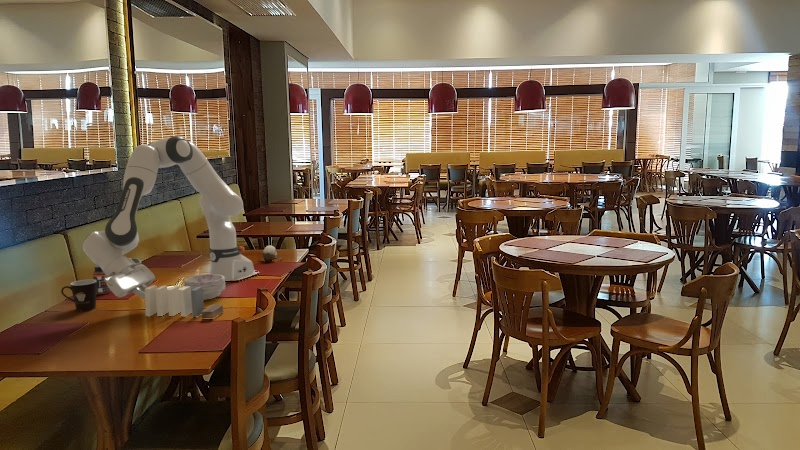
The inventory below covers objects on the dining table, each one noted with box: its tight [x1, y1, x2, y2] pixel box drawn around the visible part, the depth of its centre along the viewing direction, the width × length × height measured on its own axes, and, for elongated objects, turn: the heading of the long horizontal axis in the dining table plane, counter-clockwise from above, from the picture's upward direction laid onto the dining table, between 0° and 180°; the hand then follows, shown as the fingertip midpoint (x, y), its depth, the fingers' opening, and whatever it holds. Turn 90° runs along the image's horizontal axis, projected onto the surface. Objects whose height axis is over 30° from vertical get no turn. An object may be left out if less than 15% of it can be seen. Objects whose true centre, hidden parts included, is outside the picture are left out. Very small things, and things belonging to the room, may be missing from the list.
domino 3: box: [167, 285, 181, 317], centre depth 212 cm, size 2×5×10 cm, turn 171°
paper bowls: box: [183, 273, 226, 301], centre depth 234 cm, size 15×15×8 cm
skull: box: [262, 245, 283, 261], centre depth 301 cm, size 12×10×10 cm
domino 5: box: [191, 287, 205, 318], centre depth 211 cm, size 2×5×10 cm, turn 171°
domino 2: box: [155, 285, 169, 318], centre depth 213 cm, size 2×5×10 cm, turn 171°
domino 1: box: [144, 284, 158, 317], centre depth 213 cm, size 2×5×10 cm, turn 171°
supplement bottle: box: [92, 265, 111, 296], centre depth 243 cm, size 6×6×11 cm
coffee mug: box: [61, 279, 97, 312], centre depth 222 cm, size 12×9×10 cm
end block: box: [201, 304, 224, 319], centre depth 210 cm, size 4×8×3 cm, turn 171°
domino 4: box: [179, 286, 193, 317], centre depth 211 cm, size 2×5×10 cm, turn 171°
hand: (147, 297), depth 214 cm, fingers closed
